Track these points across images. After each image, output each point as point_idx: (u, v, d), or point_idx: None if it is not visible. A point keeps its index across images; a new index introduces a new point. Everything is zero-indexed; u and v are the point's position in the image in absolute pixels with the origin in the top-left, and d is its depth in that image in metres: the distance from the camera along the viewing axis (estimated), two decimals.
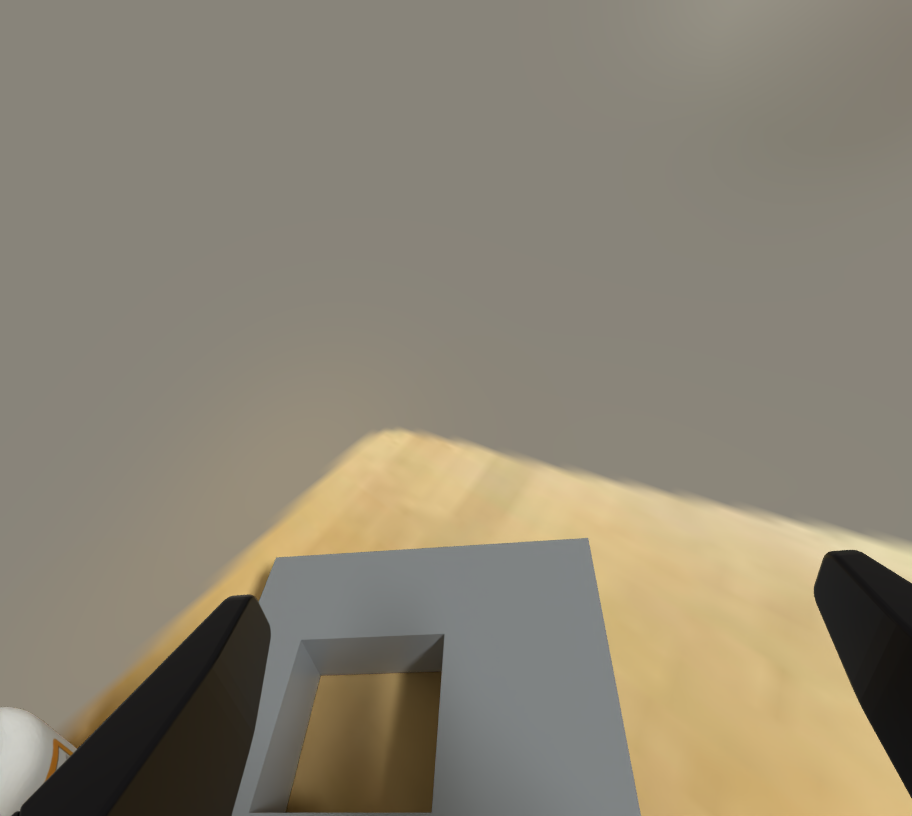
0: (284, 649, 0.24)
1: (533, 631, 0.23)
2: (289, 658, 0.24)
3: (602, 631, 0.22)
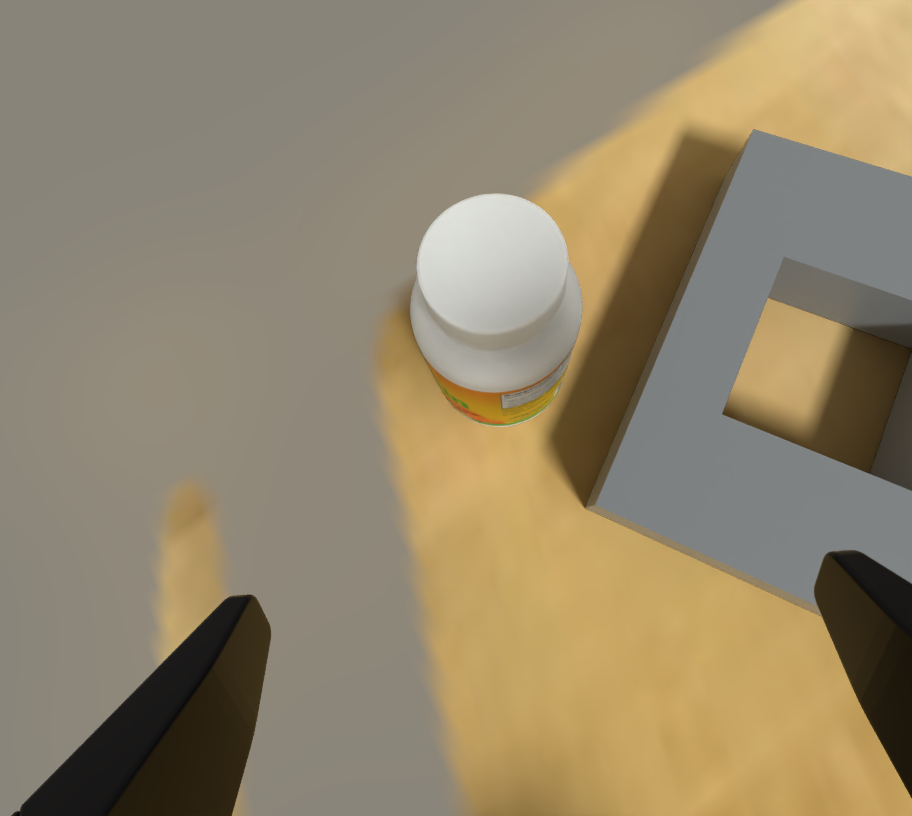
0: (762, 260, 0.20)
1: None
2: (768, 274, 0.20)
3: None
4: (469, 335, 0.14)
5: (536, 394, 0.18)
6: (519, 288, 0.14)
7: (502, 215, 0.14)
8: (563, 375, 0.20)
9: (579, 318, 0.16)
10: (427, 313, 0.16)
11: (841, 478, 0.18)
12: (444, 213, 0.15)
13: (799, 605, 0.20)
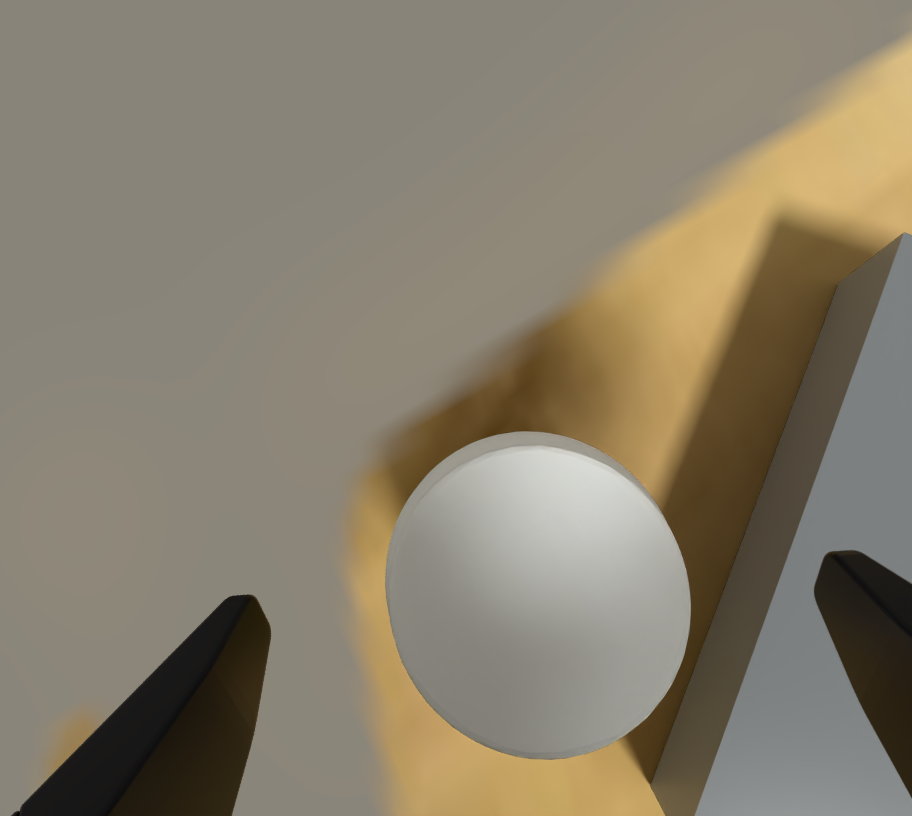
0: None
1: None
2: None
3: None
4: (492, 742, 0.07)
5: None
6: (592, 663, 0.07)
7: (556, 495, 0.07)
8: None
9: None
10: None
11: None
12: (442, 483, 0.08)
13: None
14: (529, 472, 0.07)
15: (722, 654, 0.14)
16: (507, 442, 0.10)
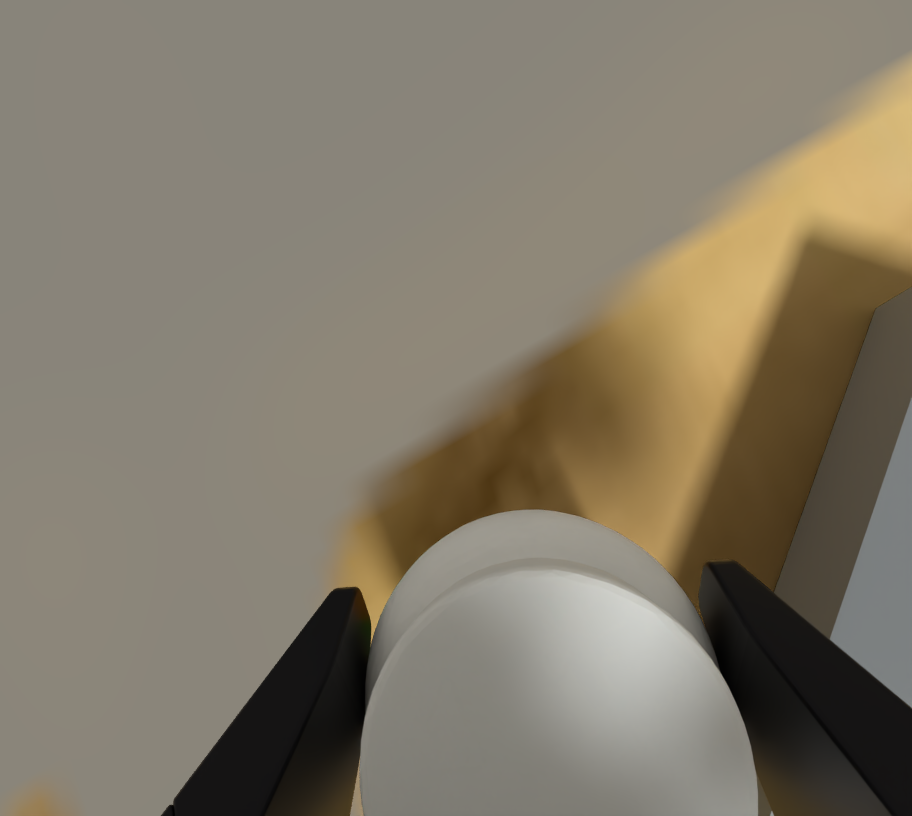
0: None
1: None
2: None
3: None
4: None
5: None
6: None
7: (578, 638, 0.06)
8: None
9: None
10: None
11: None
12: (430, 618, 0.06)
13: None
14: (543, 606, 0.06)
15: None
16: (511, 529, 0.08)
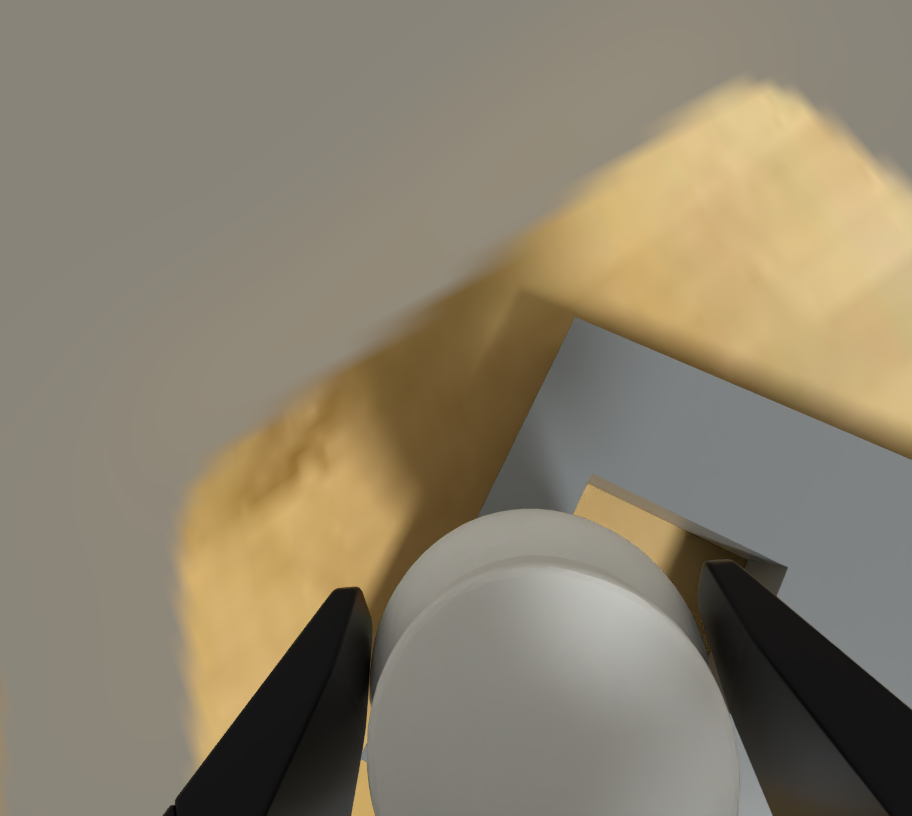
0: (568, 476, 0.18)
1: None
2: (573, 493, 0.18)
3: None
4: None
5: None
6: None
7: (572, 631, 0.06)
8: None
9: None
10: None
11: None
12: (433, 612, 0.06)
13: None
14: (539, 601, 0.06)
15: None
16: (510, 527, 0.09)
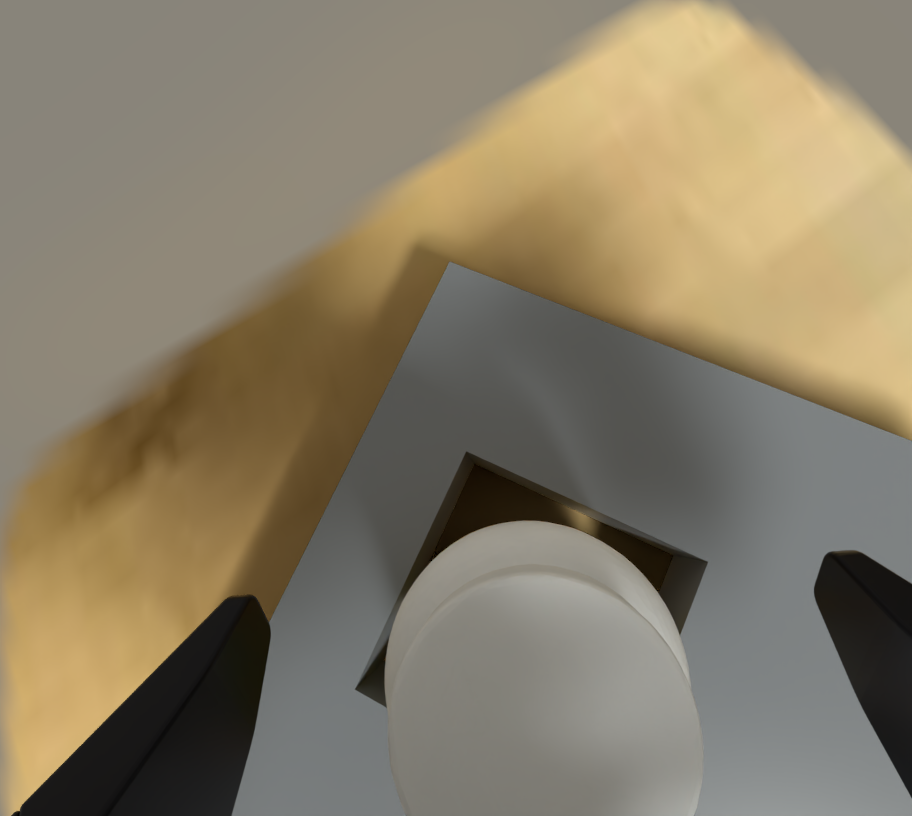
0: (437, 456, 0.14)
1: None
2: (443, 477, 0.14)
3: None
4: None
5: None
6: (601, 815, 0.07)
7: (563, 630, 0.07)
8: None
9: None
10: None
11: None
12: (444, 613, 0.07)
13: None
14: (535, 605, 0.07)
15: None
16: (510, 538, 0.10)
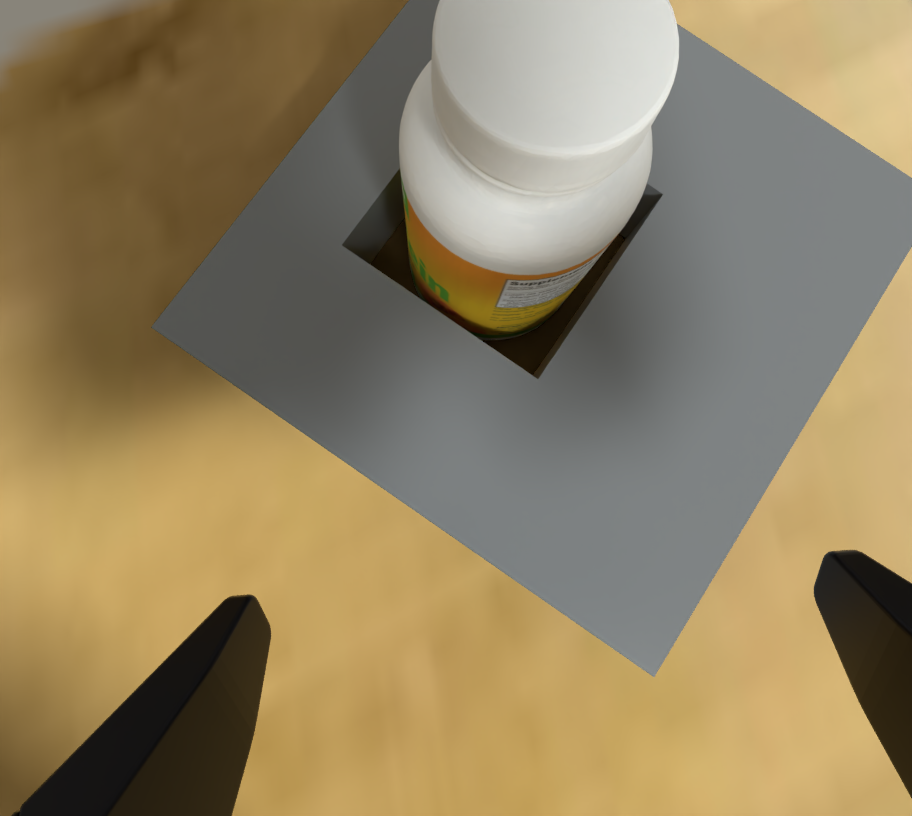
0: None
1: (774, 270, 0.15)
2: None
3: (855, 330, 0.15)
4: (499, 153, 0.09)
5: (547, 295, 0.13)
6: (594, 92, 0.09)
7: None
8: None
9: (643, 188, 0.11)
10: (428, 126, 0.11)
11: (458, 347, 0.15)
12: None
13: None
14: None
15: None
16: None
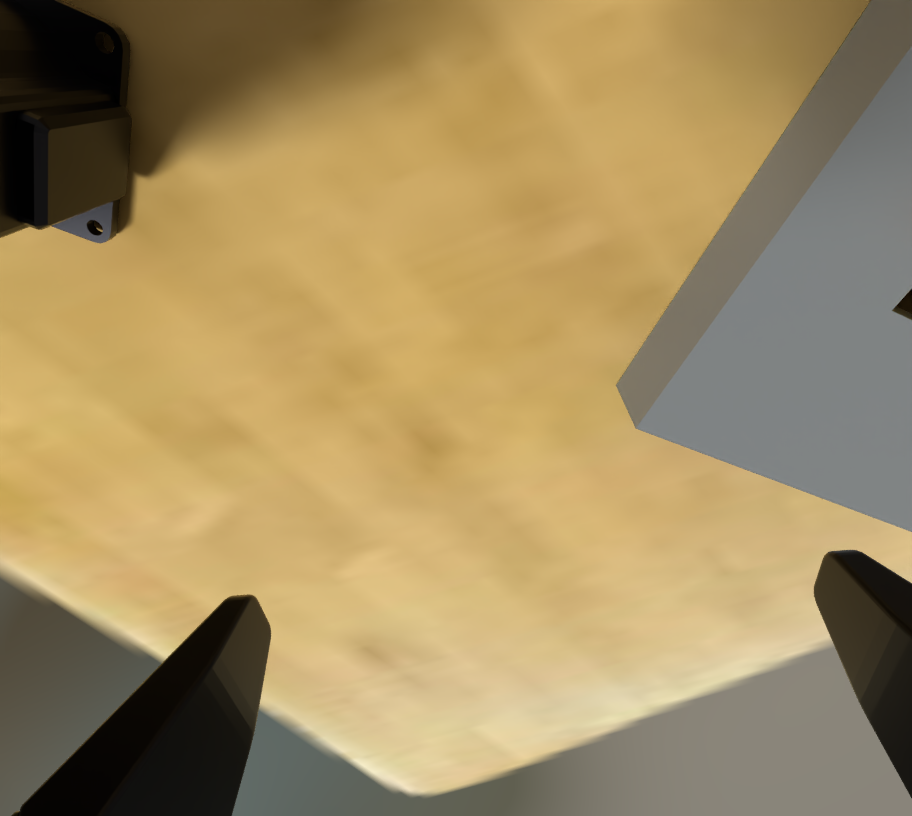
0: None
1: None
2: None
3: (883, 518, 0.21)
4: None
5: None
6: None
7: None
8: None
9: None
10: None
11: None
12: None
13: (744, 199, 0.17)
14: None
15: None
16: None
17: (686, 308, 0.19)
